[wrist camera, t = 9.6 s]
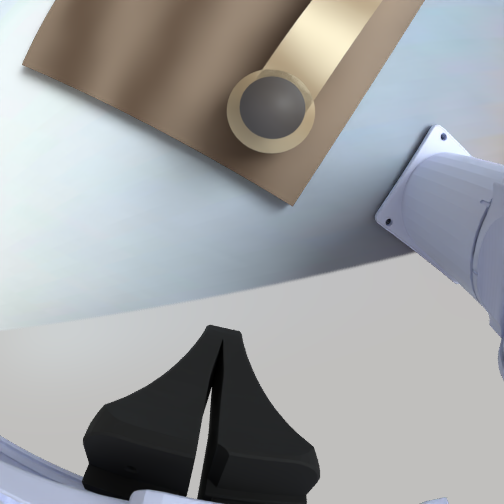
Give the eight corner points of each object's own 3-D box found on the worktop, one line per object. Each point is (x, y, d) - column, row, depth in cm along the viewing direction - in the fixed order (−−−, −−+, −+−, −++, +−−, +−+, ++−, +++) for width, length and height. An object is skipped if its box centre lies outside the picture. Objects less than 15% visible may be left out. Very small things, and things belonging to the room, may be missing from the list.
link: (282, 165, 18) (289, 176, 14) (216, 125, 17) (201, 125, 13) (420, -38, 12) (449, -64, 8) (364, -74, 11) (383, -107, 7)
